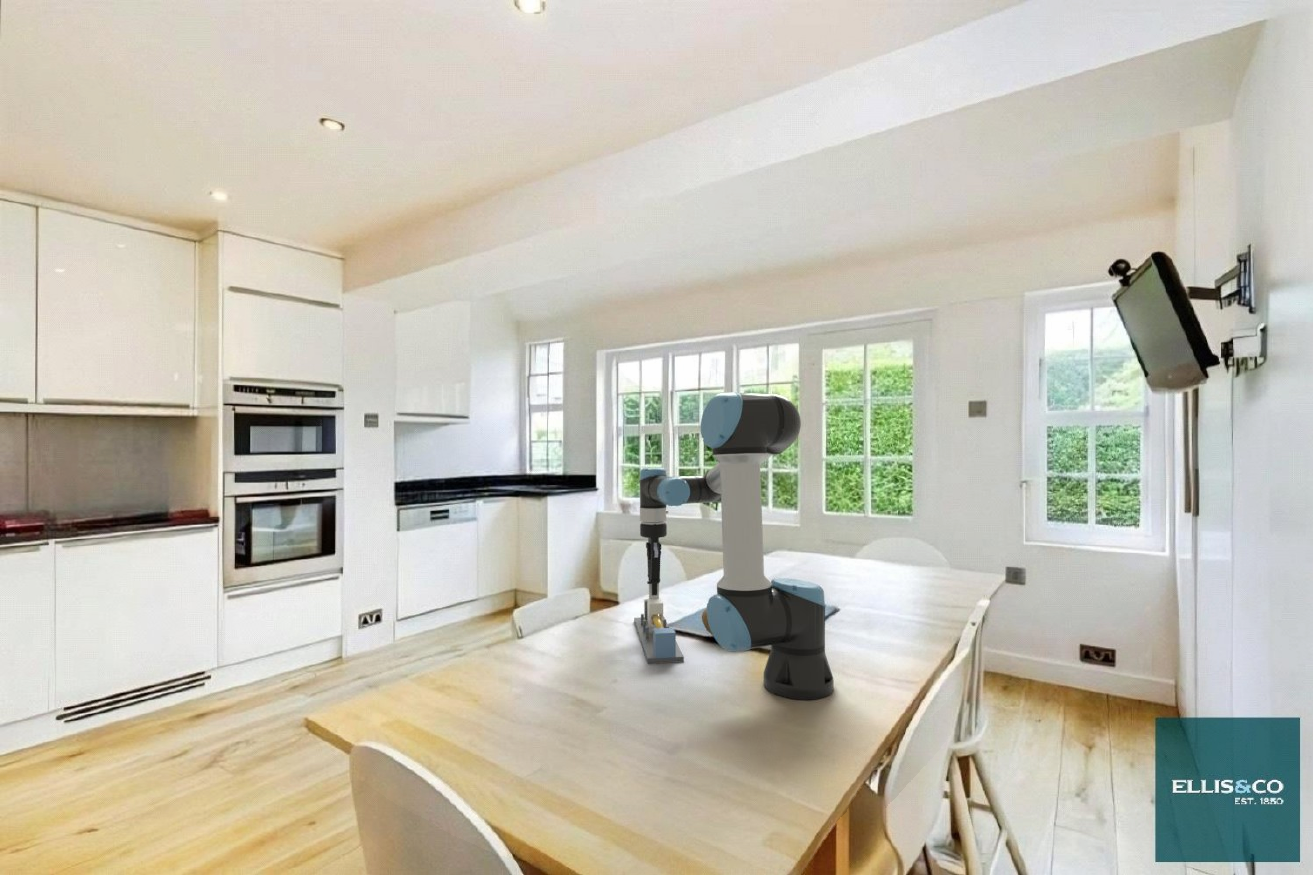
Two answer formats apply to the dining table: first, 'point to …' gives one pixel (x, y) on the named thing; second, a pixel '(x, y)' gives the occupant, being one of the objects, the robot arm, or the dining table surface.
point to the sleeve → (654, 610)
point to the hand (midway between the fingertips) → (653, 605)
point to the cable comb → (657, 639)
